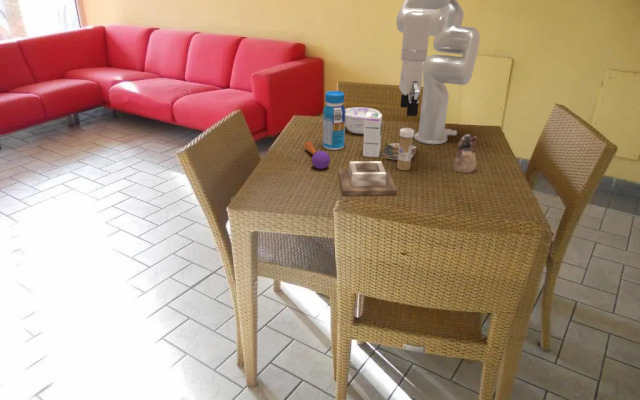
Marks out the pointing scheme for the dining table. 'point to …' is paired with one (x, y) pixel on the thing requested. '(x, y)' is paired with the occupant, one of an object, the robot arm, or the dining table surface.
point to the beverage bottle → (334, 121)
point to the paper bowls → (357, 118)
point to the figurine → (465, 155)
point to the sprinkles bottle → (405, 148)
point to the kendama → (318, 156)
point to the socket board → (366, 179)
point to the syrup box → (372, 134)
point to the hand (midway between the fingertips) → (408, 111)
